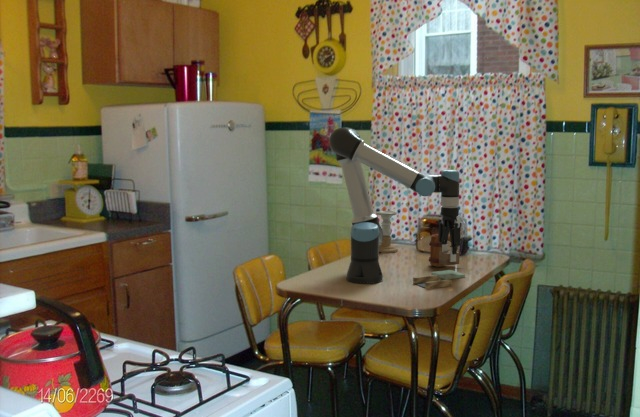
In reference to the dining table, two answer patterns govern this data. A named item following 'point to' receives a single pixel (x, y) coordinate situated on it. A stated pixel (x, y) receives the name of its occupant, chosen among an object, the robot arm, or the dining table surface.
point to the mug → (436, 250)
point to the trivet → (448, 274)
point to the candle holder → (386, 232)
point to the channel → (431, 282)
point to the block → (447, 258)
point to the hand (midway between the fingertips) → (448, 260)
